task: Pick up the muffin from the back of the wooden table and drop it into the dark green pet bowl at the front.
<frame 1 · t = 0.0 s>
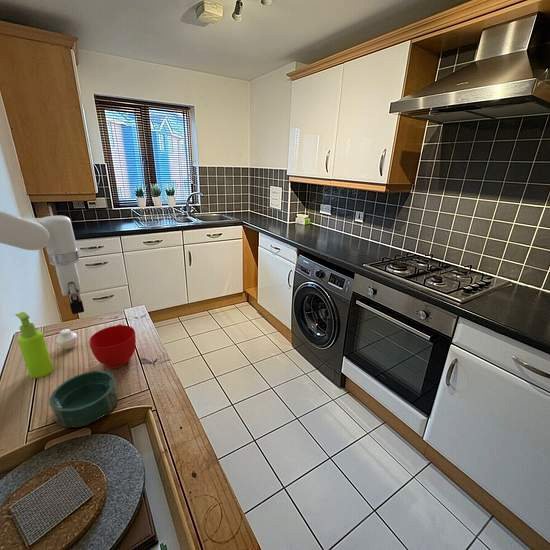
hand: (76, 306, 95), 17 cm above the table, tool pointing down, fingers open, 9 cm apart
soap dispenser: (41, 371, 91), on the table
red bowl: (119, 358, 98), on the table
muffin: (69, 347, 103), on the table
dark green pet bowl: (88, 406, 79), on the table
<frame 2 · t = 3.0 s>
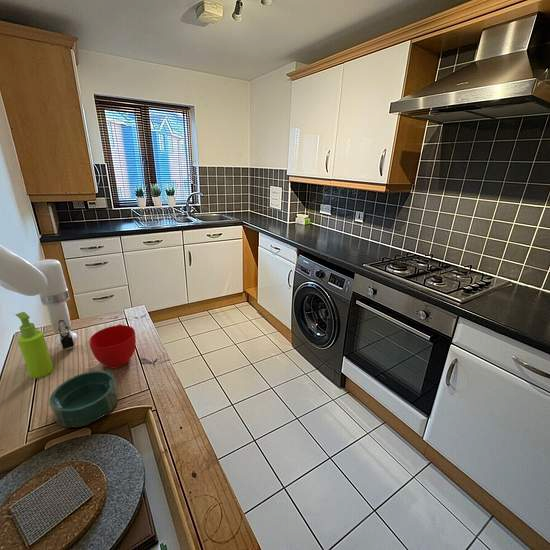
hand: (67, 342, 103), 2 cm above the table, tool pointing down, fingers closed on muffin, 6 cm apart
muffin: (69, 347, 103), on the table, touching gripper
everything else where it was.
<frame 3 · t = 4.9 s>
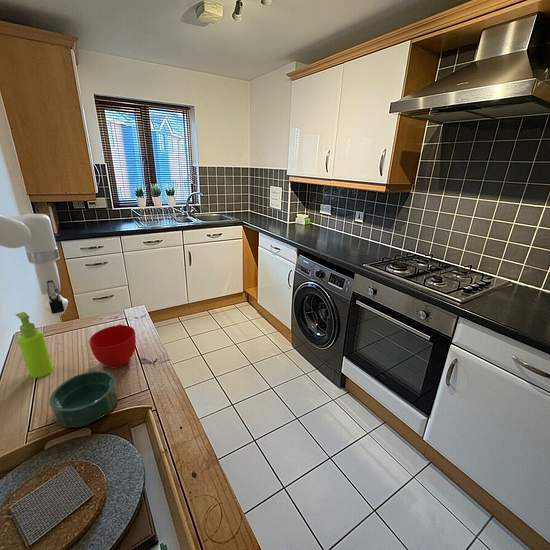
hand: (57, 307, 95), 17 cm above the table, tool pointing down, fingers closed on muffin, 6 cm apart
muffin: (59, 313, 95), point 15 cm above the table, touching gripper
everything else where it was.
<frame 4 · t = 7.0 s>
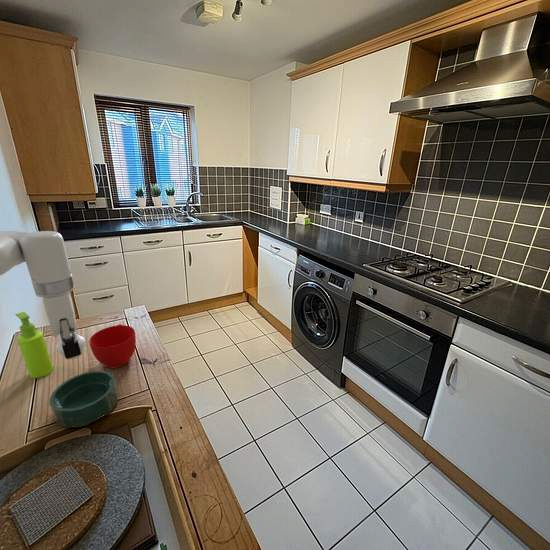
hand: (72, 349, 74), 17 cm above the table, tool pointing down, fingers closed on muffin, 6 cm apart
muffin: (74, 356, 75), point 15 cm above the table, touching gripper
everything else where it was.
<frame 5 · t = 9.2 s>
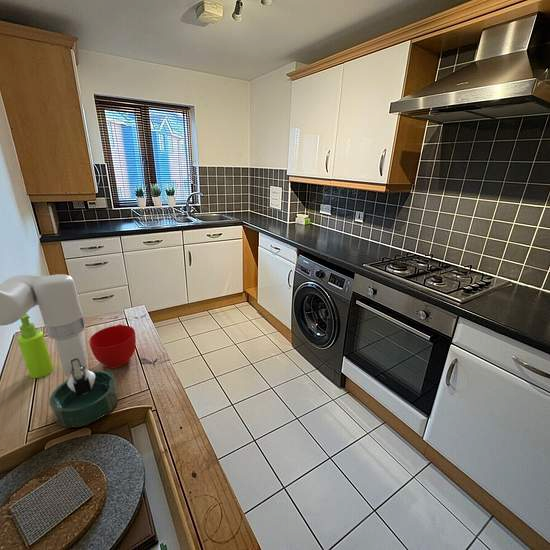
hand: (82, 384, 76), 8 cm above the table, tool pointing down, fingers closed on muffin, 6 cm apart
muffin: (84, 391, 77), point 5 cm above the table, touching gripper
everything else where it was.
when the fingers open (3 cm above the table, at t = 11.1 s): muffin stays where it is, resting on dark green pet bowl.
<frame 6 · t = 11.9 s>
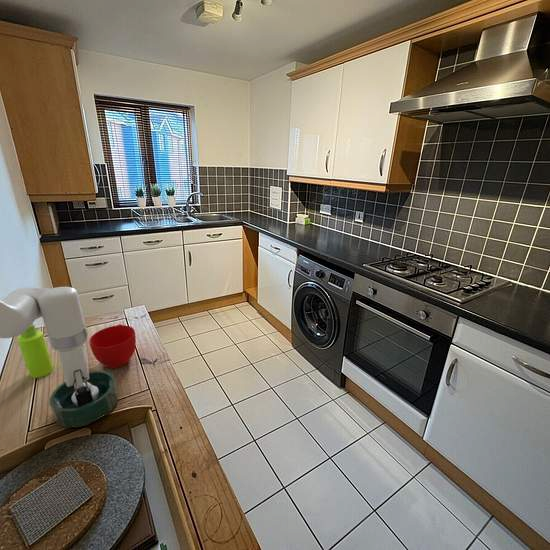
hand: (83, 392, 77), 5 cm above the table, tool pointing down, fingers open, 9 cm apart
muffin: (88, 405, 79), resting on dark green pet bowl
everything else where it was.
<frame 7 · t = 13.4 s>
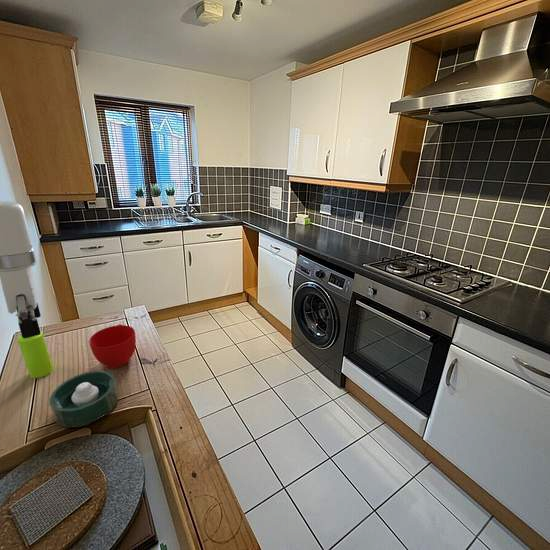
hand: (32, 326, 70), 25 cm above the table, tool pointing down, fingers open, 9 cm apart
nothing on the table moved.
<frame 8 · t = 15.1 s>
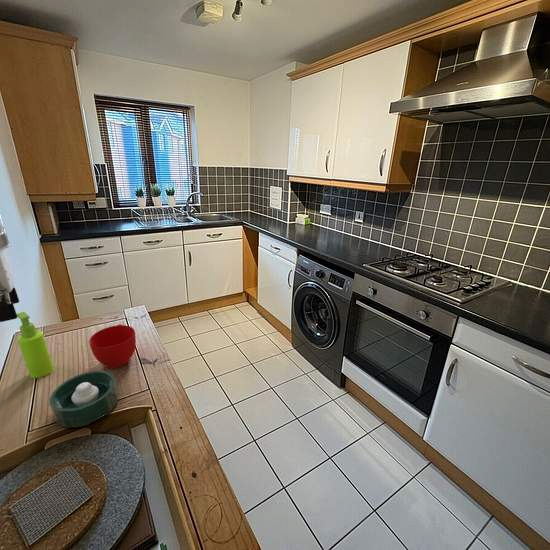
hand: (10, 311, 69), 28 cm above the table, tool pointing down, fingers open, 9 cm apart
nothing on the table moved.
at the end: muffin inside the target area in the dark green pet bowl (0.0 cm from its centre), point 0.4 cm above the dark green pet bowl's base; the gripper is holding nothing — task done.
